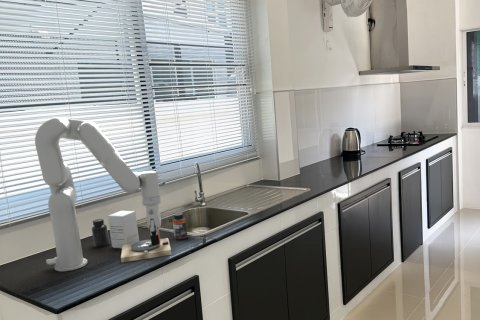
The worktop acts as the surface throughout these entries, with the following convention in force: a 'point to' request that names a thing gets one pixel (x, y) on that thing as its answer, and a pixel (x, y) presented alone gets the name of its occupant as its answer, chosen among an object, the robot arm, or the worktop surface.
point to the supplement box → (123, 228)
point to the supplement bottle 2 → (179, 226)
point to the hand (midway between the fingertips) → (155, 242)
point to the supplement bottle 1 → (100, 233)
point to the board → (145, 252)
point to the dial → (145, 245)
